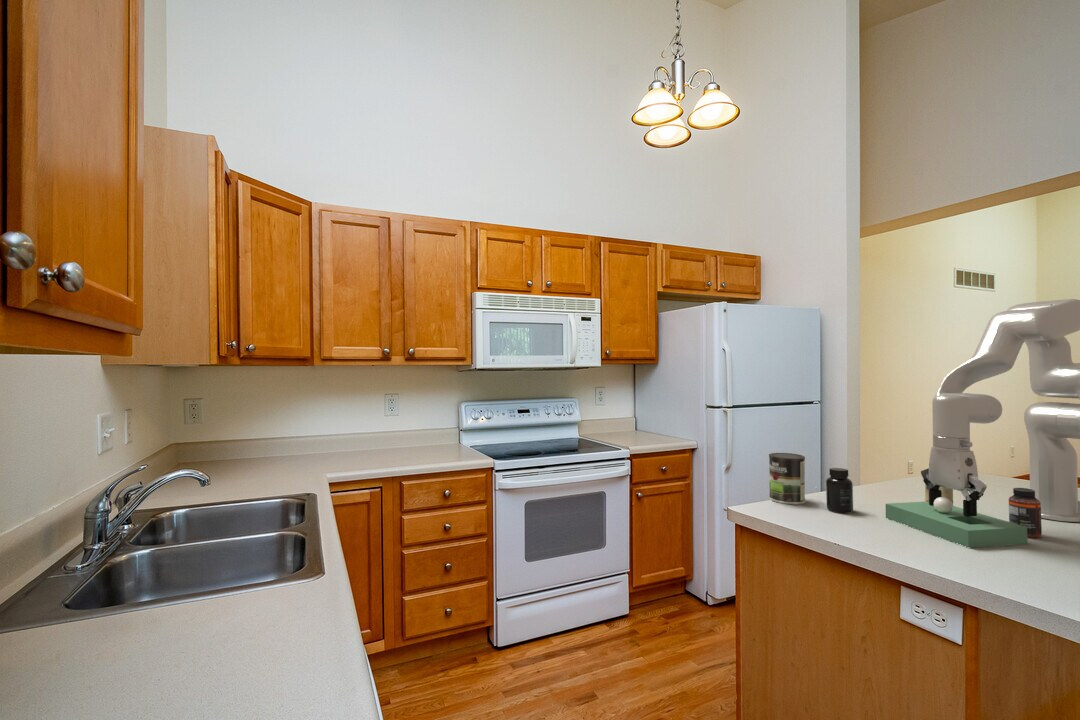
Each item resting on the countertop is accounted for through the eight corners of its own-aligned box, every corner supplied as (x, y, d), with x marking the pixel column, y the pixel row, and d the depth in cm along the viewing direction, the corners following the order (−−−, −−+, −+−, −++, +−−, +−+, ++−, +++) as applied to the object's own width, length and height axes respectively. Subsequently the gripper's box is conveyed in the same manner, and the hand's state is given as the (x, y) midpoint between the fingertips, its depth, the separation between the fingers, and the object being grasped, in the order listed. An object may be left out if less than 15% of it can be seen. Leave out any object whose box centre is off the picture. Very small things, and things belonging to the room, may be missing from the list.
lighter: (922, 507, 156) (921, 473, 156) (930, 505, 157) (929, 472, 157) (949, 513, 149) (948, 478, 149) (956, 511, 151) (956, 477, 151)
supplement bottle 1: (853, 509, 154) (853, 468, 154) (853, 515, 148) (852, 472, 148) (827, 506, 158) (826, 466, 158) (825, 511, 152) (824, 470, 152)
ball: (953, 495, 135) (959, 510, 133) (943, 498, 138) (949, 514, 137) (937, 495, 135) (943, 511, 133) (927, 499, 139) (933, 514, 137)
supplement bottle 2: (1033, 532, 132) (1032, 487, 132) (1047, 539, 126) (1046, 492, 126) (1004, 530, 134) (1003, 485, 134) (1016, 537, 128) (1015, 491, 128)
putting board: (936, 515, 147) (936, 500, 147) (1027, 544, 124) (1027, 527, 124) (885, 518, 145) (885, 503, 145) (968, 548, 121) (968, 530, 121)
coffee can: (788, 506, 158) (788, 459, 158) (762, 498, 167) (761, 454, 167) (813, 502, 162) (812, 456, 162) (785, 494, 171) (785, 451, 171)
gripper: (997, 448, 126) (998, 519, 126) (934, 438, 143) (935, 501, 143) (970, 449, 125) (971, 521, 125) (909, 439, 142) (910, 502, 142)
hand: (952, 510), depth 134 cm, fingers open, 9 cm apart
